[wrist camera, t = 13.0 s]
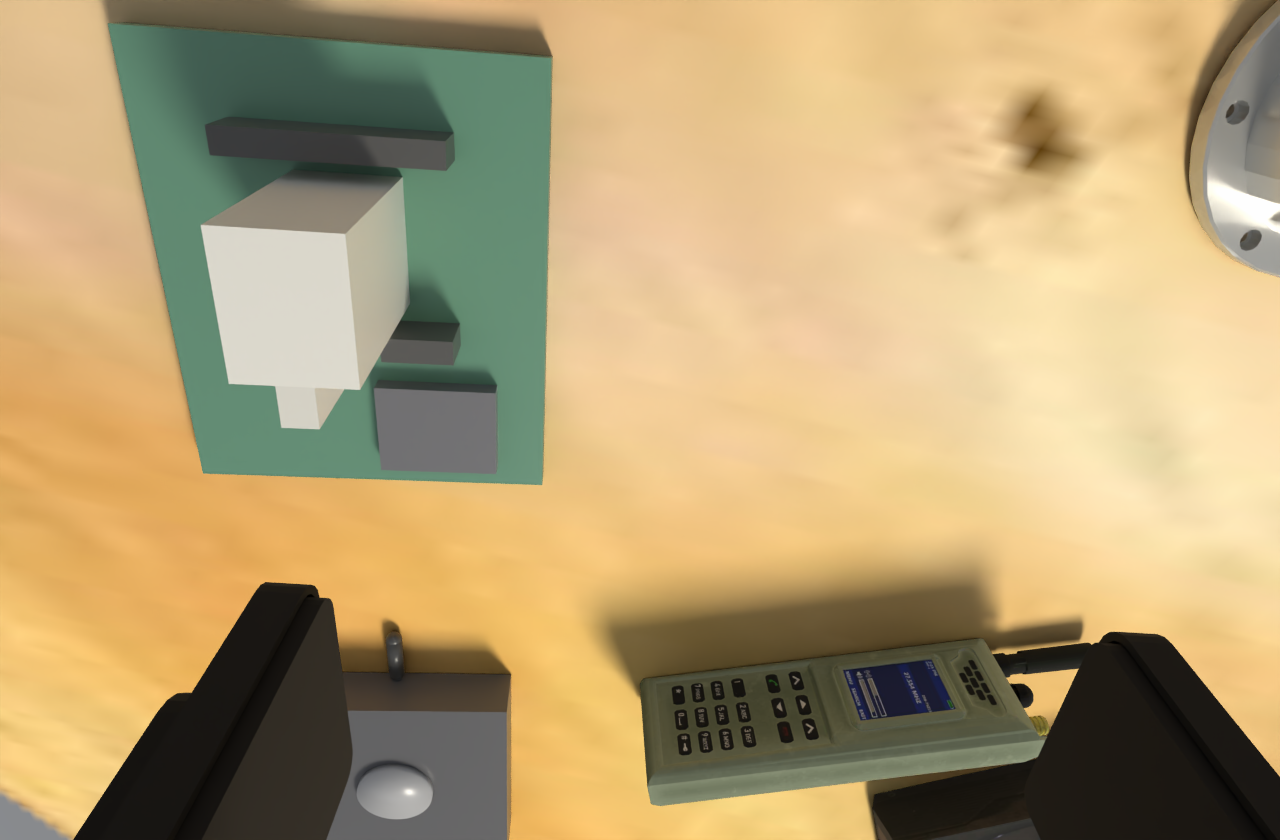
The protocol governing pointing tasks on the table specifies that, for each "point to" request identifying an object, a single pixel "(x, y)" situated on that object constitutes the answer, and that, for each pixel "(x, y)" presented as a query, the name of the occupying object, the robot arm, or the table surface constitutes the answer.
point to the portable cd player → (959, 808)
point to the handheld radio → (842, 719)
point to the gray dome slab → (426, 755)
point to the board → (435, 235)
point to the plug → (309, 285)
